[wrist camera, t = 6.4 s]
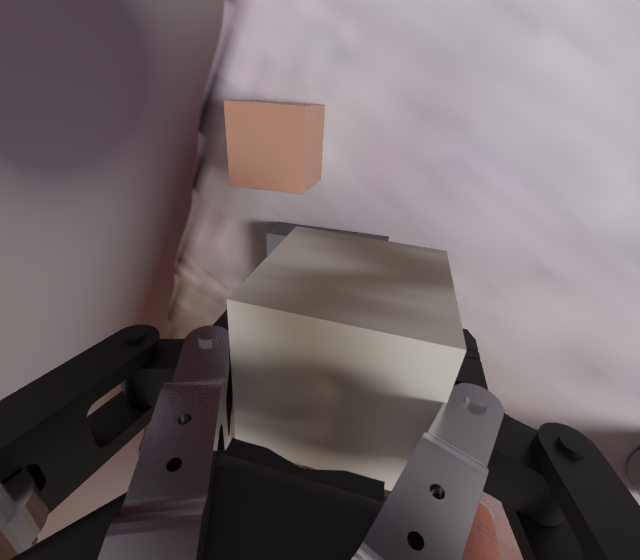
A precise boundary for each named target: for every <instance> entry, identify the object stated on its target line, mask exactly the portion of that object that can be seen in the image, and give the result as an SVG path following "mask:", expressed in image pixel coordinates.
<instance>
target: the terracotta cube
mask: <svg viewBox="0 0 640 560" xmlns="http://www.w3.org/2000/svg"><path fill="white" fill-rule="evenodd" d="M224 114H225V128H226V142H227V155H228V169H229V183H230V186H236V187H244V188H253V189H261V190H269V191H277V192H286V193H294V194H304V193H305V192H306V191H307V190H308V189H310V188H311V187H312V186H313V185H314V184H315V183H317V182H318V181H319V180H320V179H321V168H322V150H323V132H324V114H325V105H321V104H306V103H292V102H277V101H263V100H224Z"/></svg>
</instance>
